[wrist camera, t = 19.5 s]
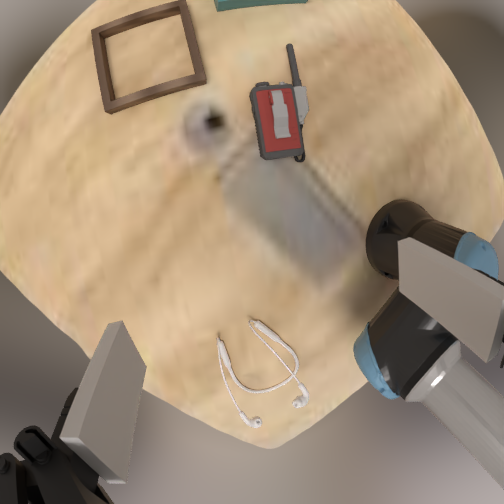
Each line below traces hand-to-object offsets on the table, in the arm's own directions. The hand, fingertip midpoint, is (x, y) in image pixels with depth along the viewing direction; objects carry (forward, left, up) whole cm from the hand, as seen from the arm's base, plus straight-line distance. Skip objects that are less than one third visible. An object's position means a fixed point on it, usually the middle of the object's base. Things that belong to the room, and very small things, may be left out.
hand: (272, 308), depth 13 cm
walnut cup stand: (+6, -26, -35) cm, 44 cm away
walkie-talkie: (-12, -13, -35) cm, 39 cm away
